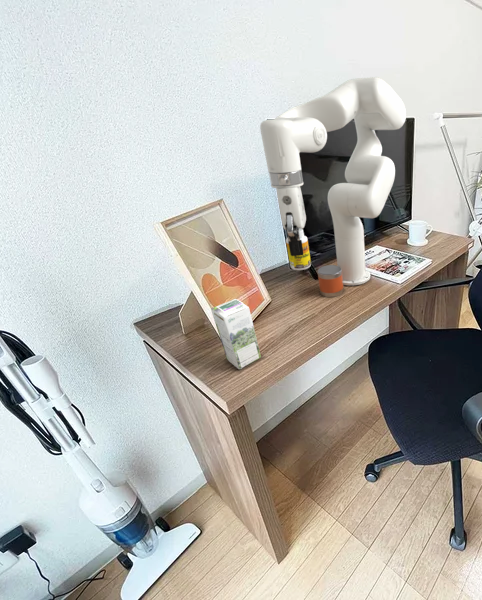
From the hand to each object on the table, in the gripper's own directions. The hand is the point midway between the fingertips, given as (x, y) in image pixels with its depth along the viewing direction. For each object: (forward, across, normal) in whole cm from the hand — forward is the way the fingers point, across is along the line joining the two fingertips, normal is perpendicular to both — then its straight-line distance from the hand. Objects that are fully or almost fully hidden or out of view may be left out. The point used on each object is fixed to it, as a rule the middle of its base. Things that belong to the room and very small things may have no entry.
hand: (298, 249), depth 86 cm
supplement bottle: (+5, 0, 0) cm, 5 cm away
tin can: (+19, +10, -7) cm, 23 cm away
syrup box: (+19, -20, +13) cm, 31 cm away
